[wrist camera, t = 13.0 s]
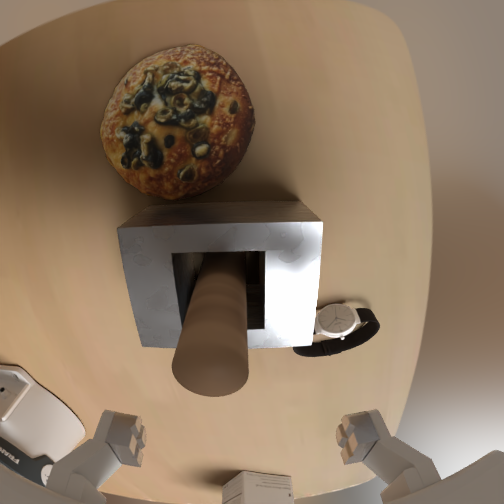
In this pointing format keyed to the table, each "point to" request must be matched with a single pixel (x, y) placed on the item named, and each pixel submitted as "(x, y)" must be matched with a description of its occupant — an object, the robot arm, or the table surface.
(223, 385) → the peg
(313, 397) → the table surface
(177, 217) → the socket block
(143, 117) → the bread roll
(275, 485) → the supplement box
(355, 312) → the watch
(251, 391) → the table surface
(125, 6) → the table surface
